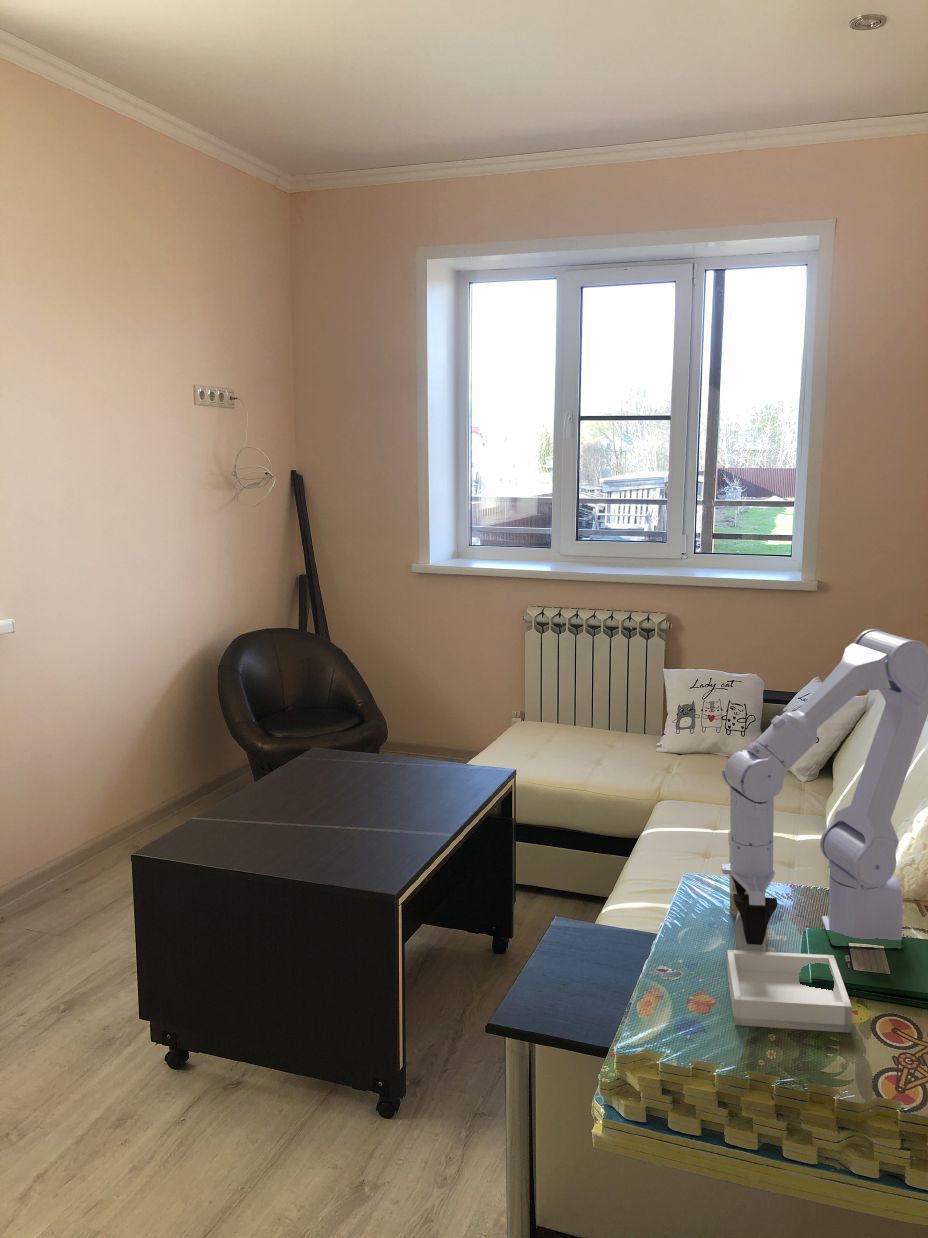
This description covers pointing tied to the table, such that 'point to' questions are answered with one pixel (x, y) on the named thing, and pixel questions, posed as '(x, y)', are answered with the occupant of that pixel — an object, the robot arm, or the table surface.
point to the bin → (785, 992)
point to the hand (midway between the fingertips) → (751, 928)
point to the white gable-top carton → (740, 937)
